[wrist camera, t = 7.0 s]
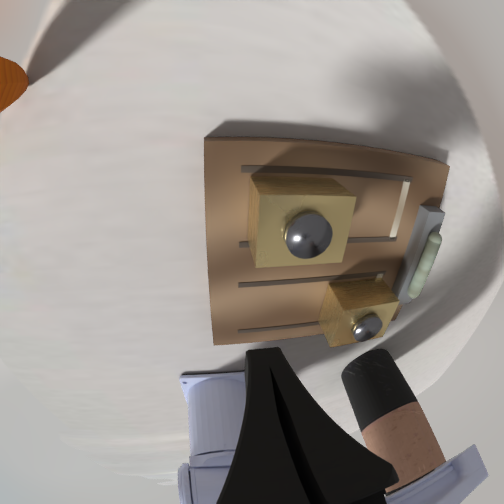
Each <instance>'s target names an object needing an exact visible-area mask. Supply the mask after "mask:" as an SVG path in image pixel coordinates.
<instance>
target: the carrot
mask: <svg viewBox="0 0 504 504" xmlns="http://www.w3.org/2000/svg"><path fill="white" fill-rule="evenodd" d="M28 84H29V80H28V76H27V75H26V73H25V71H24V70H23V69H22V68H21V67H20V66H19V65H18V64H17V63H15V62H13V61H10V60H8V59H5V58H3V57H0V112H2V111H3V110H4V109H6V108H7V107H8V106H10V105H11V104H12V103H13V102H15V101H16V100H17V99H18V98H19V97H20V96H21V95H22V94H23V93H24V92H25V91H26V89H27V87H28Z"/></svg>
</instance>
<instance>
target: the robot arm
mask: <svg viewBox="0 0 504 504" xmlns="http://www.w3.org/2000/svg"><path fill="white" fill-rule="evenodd" d="M179 380H180V383H181V387H182V390H183V393H184V396H185V399H186V402H187V404H188V419H189V438H190V453H191V456H189V459H190V466H189V463H183V464H182V466H180V467H179V468H178V489H179V498H180V504H460V503H461V502H462V501H463V500H464V499H465V498H466V497H467V496H468V495H469V494H470V493H471V492H472V491H473V490H474V489H475V488H476V487H477V486H478V485H479V484H481V483H482V481H484V480H485V479H486V478H487V477H488V473H487V470H486V468H485V466H484V463H483V461H482V459H481V457H480V454H479V452H478V450H477V448H476V446H475V444H473V445H472V446H470V447H469V448H467V449H466V450H465V451H463V452H462V453H460V454H458V455H457V456H455V457H453V458H451V459H449V460H448V461H446V462H445V463H443V464H442V465H440V466H439V467H437V468H436V469H435V470H434V471H433V472H431V473H429V474H428V475H426V476H424V477H423V478H421V479H419V480H417V481H416V482H414V483H412V484H410V485H408V486H406V487H405V488H403V489H401V490H399V491H397V492H395V493H393V494H391V495H388V496H386V497H384V494H386V490H385V489H386V488H388V487H390V486H392V485H394V484H396V483H398V482H399V477H398V474H397V472H396V470H395V469H394V467H393V465H392V464H391V463H389V462H387V461H386V460H384V459H382V458H381V457H379V456H377V455H376V454H374V453H373V452H371V451H370V450H368V449H367V448H365V447H364V446H363V445H361V444H360V443H358V442H357V441H356V440H355V439H354V438H352V437H351V436H350V435H349V434H347V433H346V432H345V431H344V430H343V429H342V428H341V427H340V426H338V425H337V424H336V423H335V422H334V421H333V420H332V419H331V418H330V417H329V416H328V415H327V414H326V412H325V411H324V410H323V409H322V408H321V407H320V406H319V405H318V403H317V402H316V401H315V400H314V399H313V397H312V396H311V395H310V394H309V392H308V391H307V390H306V388H305V387H304V386H303V384H302V383H301V381H300V380H299V379H298V377H297V376H296V374H295V373H294V371H293V370H292V368H291V366H290V365H289V363H288V362H287V360H286V358H285V356H284V355H283V353H282V351H281V349H280V348H279V347H274V348H264V349H254V350H248V351H246V359H245V372H234V373H221V374H203V375H182V376H180V377H179Z"/></svg>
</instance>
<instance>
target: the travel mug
mask: <svg viewBox="0 0 504 504" xmlns="http://www.w3.org/2000/svg"><path fill="white" fill-rule="evenodd" d="M341 377H342V381H343V384H344V386H345V389H346V392H347V395H348V397H349V400H350V403H351V405H352V408H353V411H354V414H355V416H356V419H357V422H358V425H359V428H360V430H361V432H362V436H363V438H364V440H365V443H366V446H367V448H368V450H370V451H371V452H373V453H374V454H376V455H377V456H379V457H381V458H382V459H384V460H386V461H387V462H389V463H391V464H392V465H393V467H394V469H395V470H396V472H397V474H398V477H399V482H398V483H396V484H394V485H392V486H390V487H388V488H386V489H385V490H386V494H385V495H386V496H388V495H391V494H393V493H395V492H397V491H399V490H401V489H403V488H405V487H406V486H408V485H410V484H412V483H414V482H416V481H417V480H419V479H421V478H423V477H424V476H426V475H428V474H429V473H431V472H433V471H434V470H435V469H436V468H437V467H439V466H440V465H442V464H443V463H445V462H446V460H445V458H444V455H443V453H442V451H441V448H440V446H439V444H438V442H437V440H436V437H435V436H434V433H433V431H432V429H431V427H430V425H429V423H428V421H427V418H426V417H425V414H424V412H423V410H422V408H421V406H420V404H419V403H418V401H417V399H416V397H415V395H414V394H413V392H412V390H411V388H410V387H409V385H408V383H407V382H406V380H405V378H404V377H403V375H402V373H401V372H400V370H399V368H398V367H397V365H396V363H395V362H394V360H393V359H392V357H391V356H390V354H389V353H388V351H386V350H384V349H378V350H373V351H370V352H368V353H365V354H363V355H361V356H360V357H358V358H356V359H355V360H353V361H352V362H351V363H350V364H349V365H348V366H347V367H346V368H345V369H344V370H343V372H342V375H341Z"/></svg>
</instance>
